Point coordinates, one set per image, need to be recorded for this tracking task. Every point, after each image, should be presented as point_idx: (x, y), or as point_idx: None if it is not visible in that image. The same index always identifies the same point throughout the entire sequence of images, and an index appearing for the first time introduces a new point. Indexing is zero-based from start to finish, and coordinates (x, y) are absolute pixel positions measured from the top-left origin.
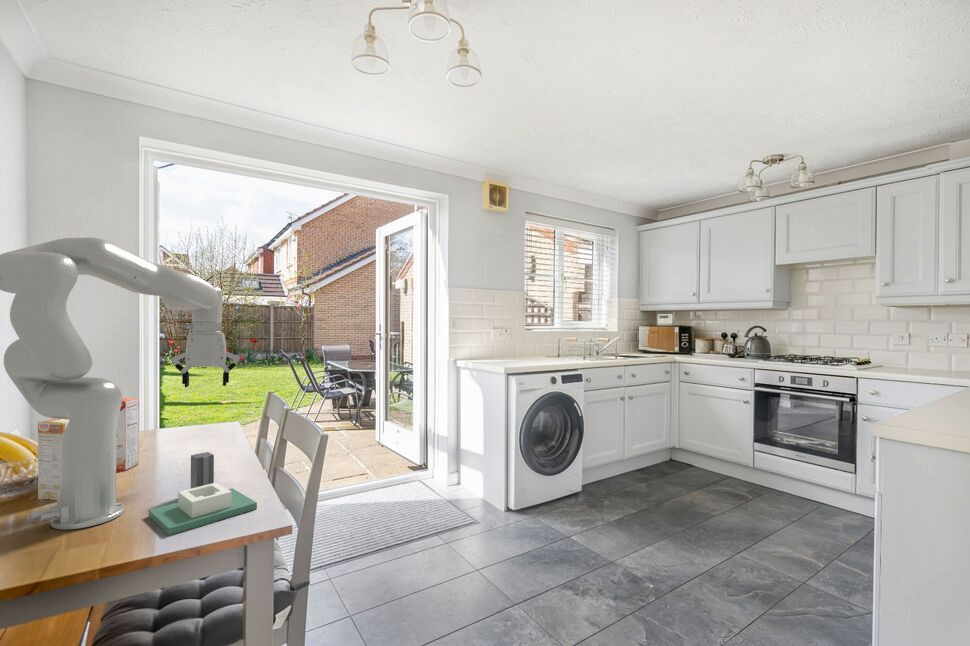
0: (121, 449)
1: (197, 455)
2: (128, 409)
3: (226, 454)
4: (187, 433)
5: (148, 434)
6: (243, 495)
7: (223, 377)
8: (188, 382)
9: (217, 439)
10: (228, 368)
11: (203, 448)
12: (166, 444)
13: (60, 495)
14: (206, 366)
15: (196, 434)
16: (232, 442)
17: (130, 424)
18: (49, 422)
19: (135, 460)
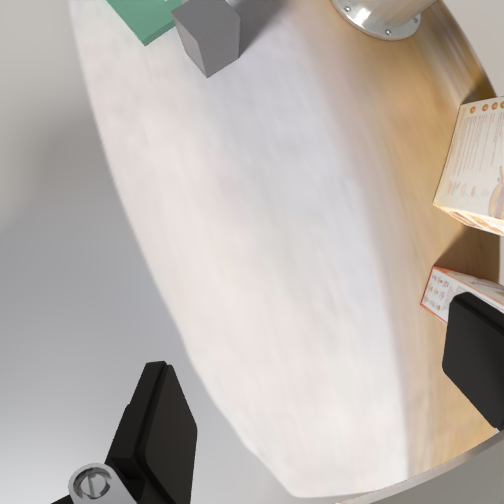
0: (467, 280)
1: (218, 10)
2: None
3: (248, 364)
4: (363, 482)
5: (418, 469)
6: (114, 5)
7: (147, 414)
8: (461, 357)
9: (301, 460)
10: (73, 501)
11: (316, 411)
12: (390, 431)
13: (467, 103)
14: (401, 485)
15: (347, 480)
16: (262, 443)
17: None
18: None
19: (429, 299)
